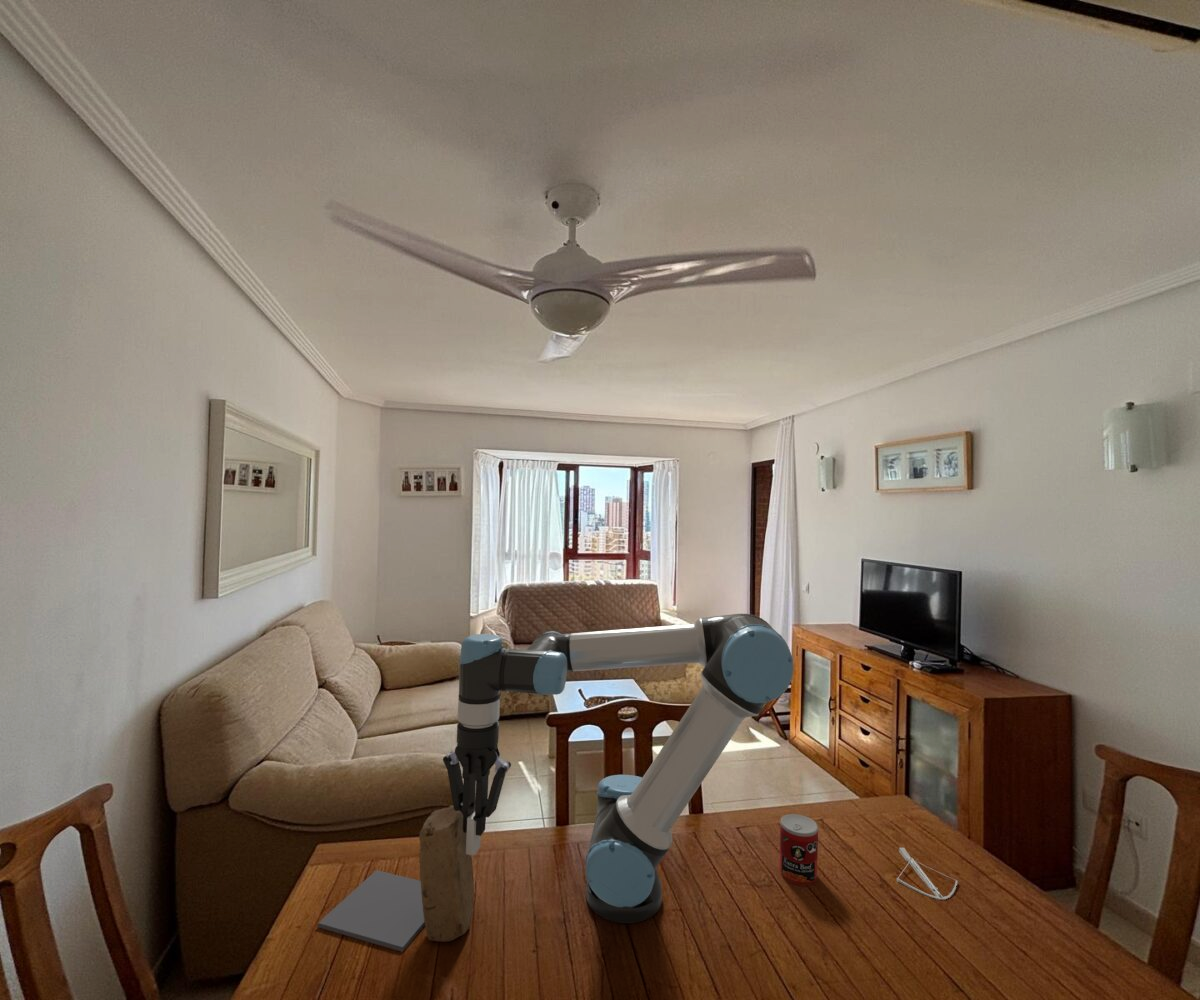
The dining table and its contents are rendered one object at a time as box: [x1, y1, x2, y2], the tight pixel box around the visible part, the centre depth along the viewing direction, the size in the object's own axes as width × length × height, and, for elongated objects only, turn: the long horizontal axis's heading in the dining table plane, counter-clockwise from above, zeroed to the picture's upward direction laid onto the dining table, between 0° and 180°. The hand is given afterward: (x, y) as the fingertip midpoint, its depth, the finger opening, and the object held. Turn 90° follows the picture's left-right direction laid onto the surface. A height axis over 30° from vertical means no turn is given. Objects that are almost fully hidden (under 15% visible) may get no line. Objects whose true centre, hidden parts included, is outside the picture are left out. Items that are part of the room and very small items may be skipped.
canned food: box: [779, 813, 819, 886], centre depth 122 cm, size 8×8×11 cm
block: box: [418, 806, 475, 943], centre depth 105 cm, size 11×8×20 cm
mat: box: [317, 869, 425, 953], centre depth 109 cm, size 18×16×1 cm
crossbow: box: [896, 847, 959, 901], centre depth 123 cm, size 16×13×2 cm
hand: (473, 850), depth 104 cm, fingers closed
